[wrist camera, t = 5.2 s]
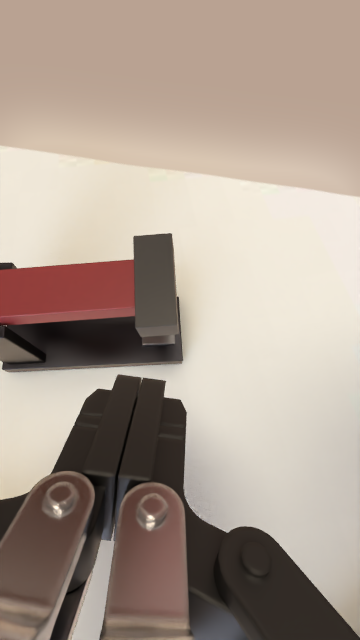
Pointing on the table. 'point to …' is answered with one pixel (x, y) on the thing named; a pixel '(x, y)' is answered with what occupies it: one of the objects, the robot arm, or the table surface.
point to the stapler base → (84, 344)
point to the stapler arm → (98, 290)
